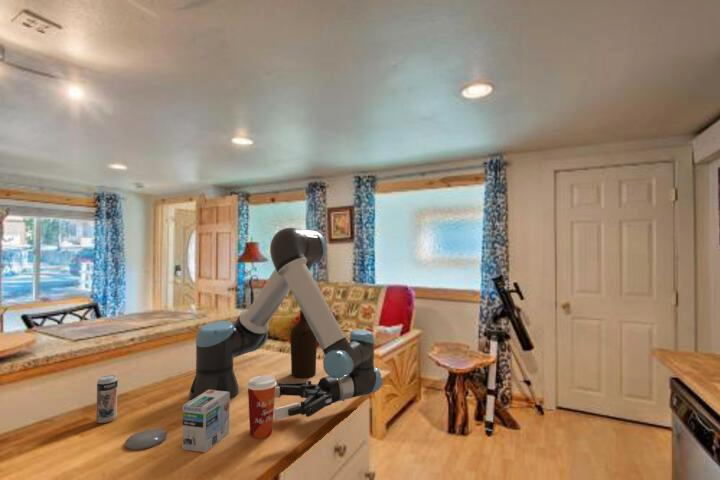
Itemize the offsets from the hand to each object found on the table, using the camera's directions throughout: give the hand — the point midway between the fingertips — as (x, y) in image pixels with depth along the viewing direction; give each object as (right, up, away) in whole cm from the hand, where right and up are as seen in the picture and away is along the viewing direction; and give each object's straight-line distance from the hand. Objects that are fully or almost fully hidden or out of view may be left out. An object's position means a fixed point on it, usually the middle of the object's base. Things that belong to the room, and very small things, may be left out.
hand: (265, 404), depth 96 cm
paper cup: (-1, -8, 0) cm, 8 cm away
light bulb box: (-14, -7, -4) cm, 16 cm away
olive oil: (+3, -9, +46) cm, 47 cm away
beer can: (-47, -8, +7) cm, 48 cm away
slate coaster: (-29, -7, -4) cm, 30 cm away
